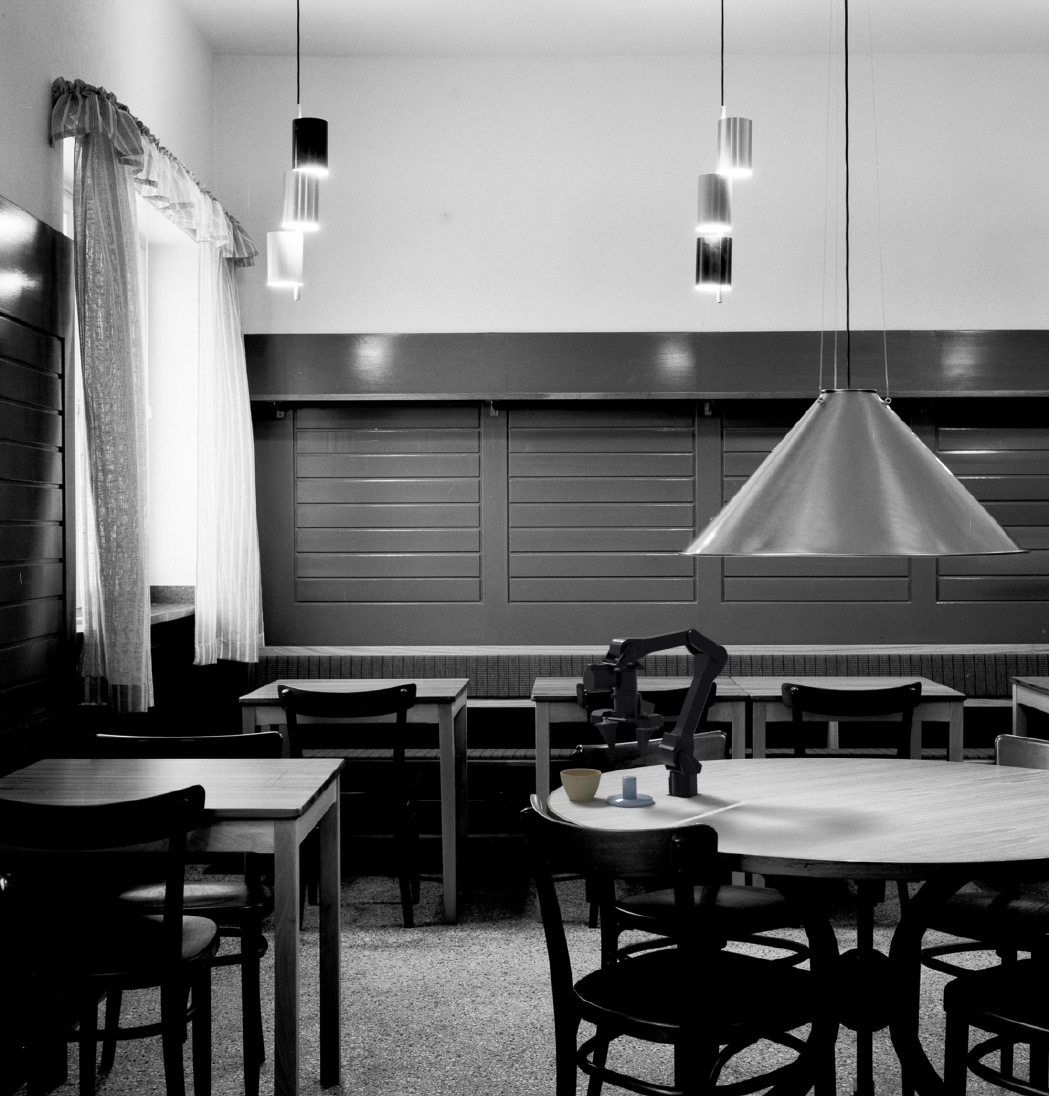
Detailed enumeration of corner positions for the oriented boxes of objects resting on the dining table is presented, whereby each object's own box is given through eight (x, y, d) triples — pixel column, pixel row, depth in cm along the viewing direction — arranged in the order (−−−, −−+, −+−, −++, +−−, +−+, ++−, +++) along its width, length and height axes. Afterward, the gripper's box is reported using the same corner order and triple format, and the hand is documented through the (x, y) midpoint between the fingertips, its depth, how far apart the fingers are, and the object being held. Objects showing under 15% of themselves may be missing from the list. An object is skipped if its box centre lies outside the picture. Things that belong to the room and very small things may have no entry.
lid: (662, 801, 276) (661, 776, 276) (633, 809, 268) (632, 783, 268) (626, 795, 283) (625, 771, 283) (597, 803, 275) (597, 778, 275)
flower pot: (586, 807, 274) (586, 777, 274) (553, 802, 280) (552, 773, 280) (609, 799, 282) (608, 770, 282) (576, 795, 288) (575, 766, 288)
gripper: (677, 688, 275) (678, 753, 275) (617, 684, 289) (619, 746, 288) (647, 693, 267) (649, 760, 267) (588, 688, 281) (590, 752, 281)
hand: (627, 754), depth 276 cm, fingers open, 9 cm apart
